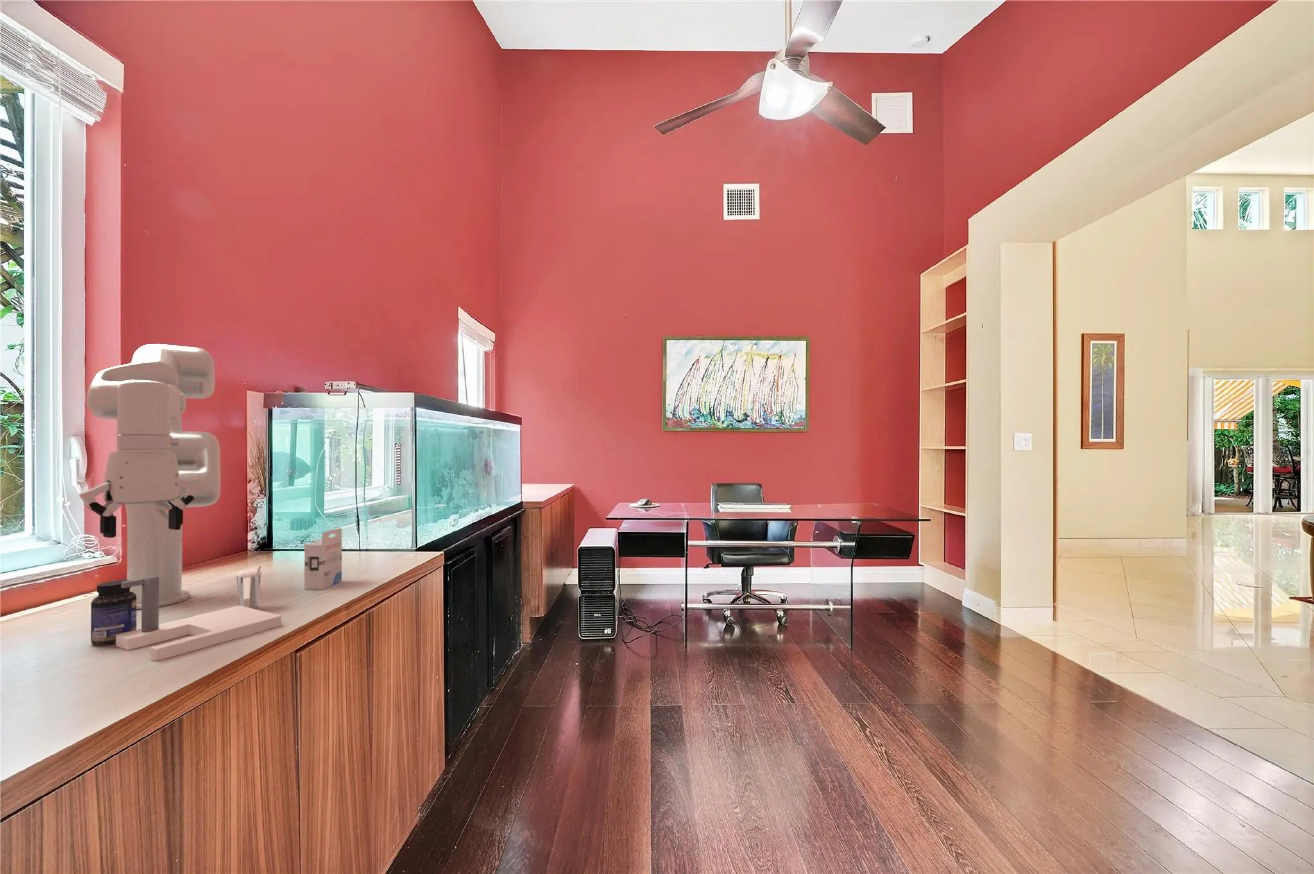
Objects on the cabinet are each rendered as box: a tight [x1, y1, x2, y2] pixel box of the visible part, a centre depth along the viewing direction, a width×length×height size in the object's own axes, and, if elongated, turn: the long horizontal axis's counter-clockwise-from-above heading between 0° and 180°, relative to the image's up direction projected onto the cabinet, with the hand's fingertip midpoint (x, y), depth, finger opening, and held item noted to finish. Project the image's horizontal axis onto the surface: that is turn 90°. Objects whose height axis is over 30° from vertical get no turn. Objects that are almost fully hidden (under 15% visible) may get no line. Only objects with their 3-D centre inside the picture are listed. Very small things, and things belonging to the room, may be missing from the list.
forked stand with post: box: [115, 576, 282, 662], centre depth 104 cm, size 16×20×12 cm
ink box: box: [303, 527, 343, 591], centre depth 141 cm, size 9×5×15 cm, turn 179°
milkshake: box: [235, 565, 262, 610], centre depth 120 cm, size 5×5×10 cm
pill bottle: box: [90, 579, 138, 646], centre depth 101 cm, size 6×6×11 cm
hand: (143, 533), depth 102 cm, fingers open, 9 cm apart
